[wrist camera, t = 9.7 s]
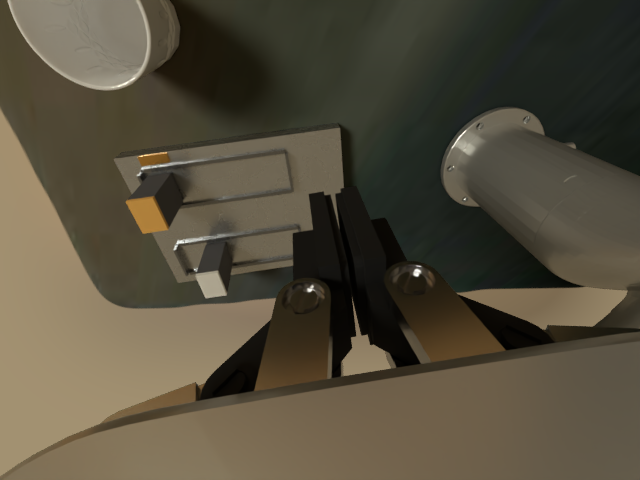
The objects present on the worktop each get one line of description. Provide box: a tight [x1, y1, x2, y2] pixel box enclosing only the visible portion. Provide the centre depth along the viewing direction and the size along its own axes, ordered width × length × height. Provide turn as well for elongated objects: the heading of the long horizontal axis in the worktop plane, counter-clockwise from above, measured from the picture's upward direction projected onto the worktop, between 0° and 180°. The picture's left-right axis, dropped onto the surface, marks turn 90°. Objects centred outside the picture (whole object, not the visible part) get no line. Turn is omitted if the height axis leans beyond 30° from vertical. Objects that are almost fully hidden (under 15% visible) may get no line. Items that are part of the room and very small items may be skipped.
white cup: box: [8, 0, 180, 90], centre depth 23 cm, size 8×8×10 cm
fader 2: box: [196, 242, 233, 298], centre depth 38 cm, size 2×4×6 cm
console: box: [114, 123, 344, 283], centre depth 38 cm, size 24×18×3 cm
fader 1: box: [126, 172, 183, 234], centre depth 32 cm, size 2×4×6 cm
